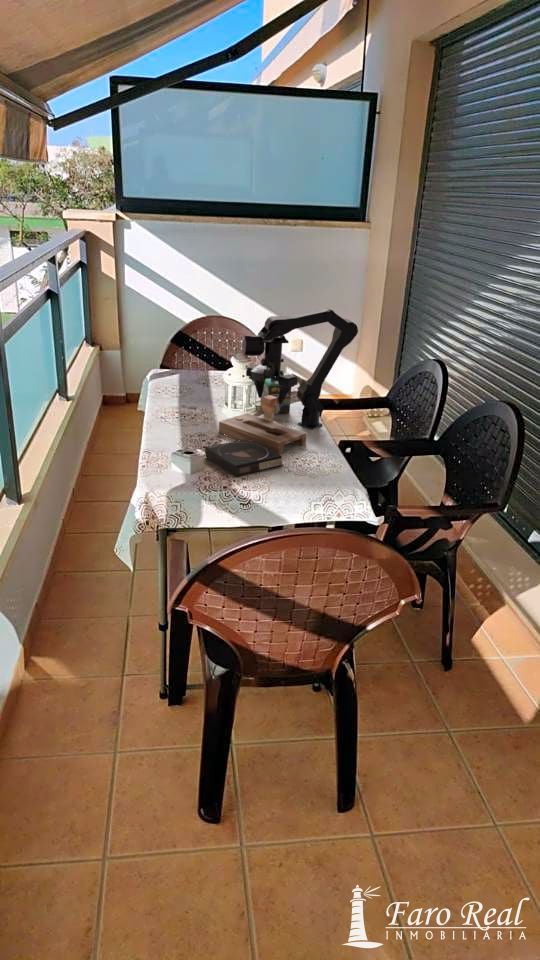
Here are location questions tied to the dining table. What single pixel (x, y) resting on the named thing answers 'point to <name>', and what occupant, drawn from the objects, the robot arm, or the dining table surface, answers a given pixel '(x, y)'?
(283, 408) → the chalk box
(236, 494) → the dining table surface
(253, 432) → the keyhole plate
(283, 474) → the dining table surface
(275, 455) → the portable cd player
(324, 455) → the dining table surface
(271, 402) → the copper peg
